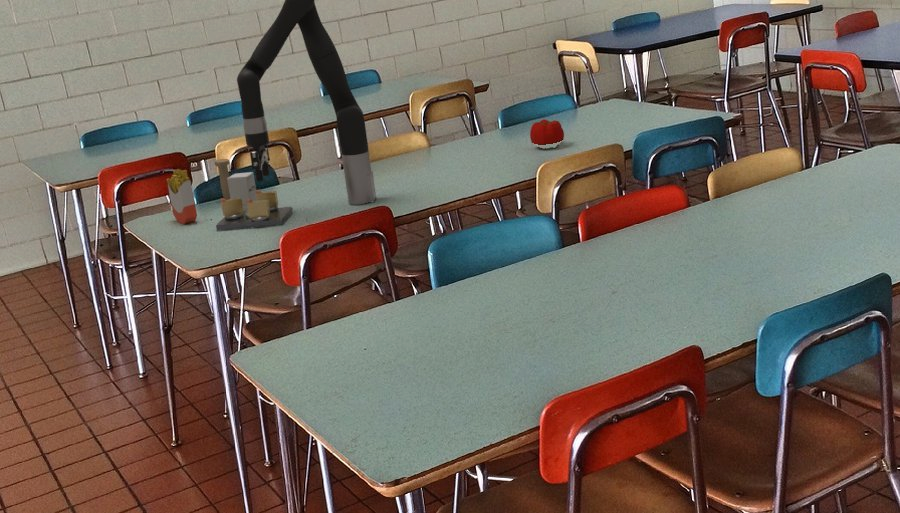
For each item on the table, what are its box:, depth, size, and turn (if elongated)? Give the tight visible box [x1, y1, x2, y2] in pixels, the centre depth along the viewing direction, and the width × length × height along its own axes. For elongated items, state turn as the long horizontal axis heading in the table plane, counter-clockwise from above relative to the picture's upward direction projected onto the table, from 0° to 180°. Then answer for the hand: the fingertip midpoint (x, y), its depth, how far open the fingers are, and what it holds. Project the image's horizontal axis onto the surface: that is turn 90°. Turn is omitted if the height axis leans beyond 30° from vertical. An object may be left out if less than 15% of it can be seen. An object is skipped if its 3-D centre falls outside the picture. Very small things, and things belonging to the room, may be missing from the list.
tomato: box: [529, 119, 565, 145], centre depth 409 cm, size 14×13×10 cm
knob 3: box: [247, 199, 270, 222], centre depth 341 cm, size 6×6×7 cm
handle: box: [214, 158, 231, 200], centre depth 382 cm, size 5×6×15 cm
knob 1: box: [220, 197, 244, 220], centre depth 348 cm, size 6×6×7 cm
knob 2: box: [256, 189, 279, 211], centre depth 353 cm, size 6×6×7 cm
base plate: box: [215, 206, 294, 232], centre depth 348 cm, size 22×16×4 cm
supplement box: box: [227, 171, 257, 211], centre depth 365 cm, size 7×7×13 cm
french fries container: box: [166, 168, 198, 225], centre depth 357 cm, size 5×11×18 cm, turn 37°
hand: (263, 178), depth 350 cm, fingers open, 8 cm apart
